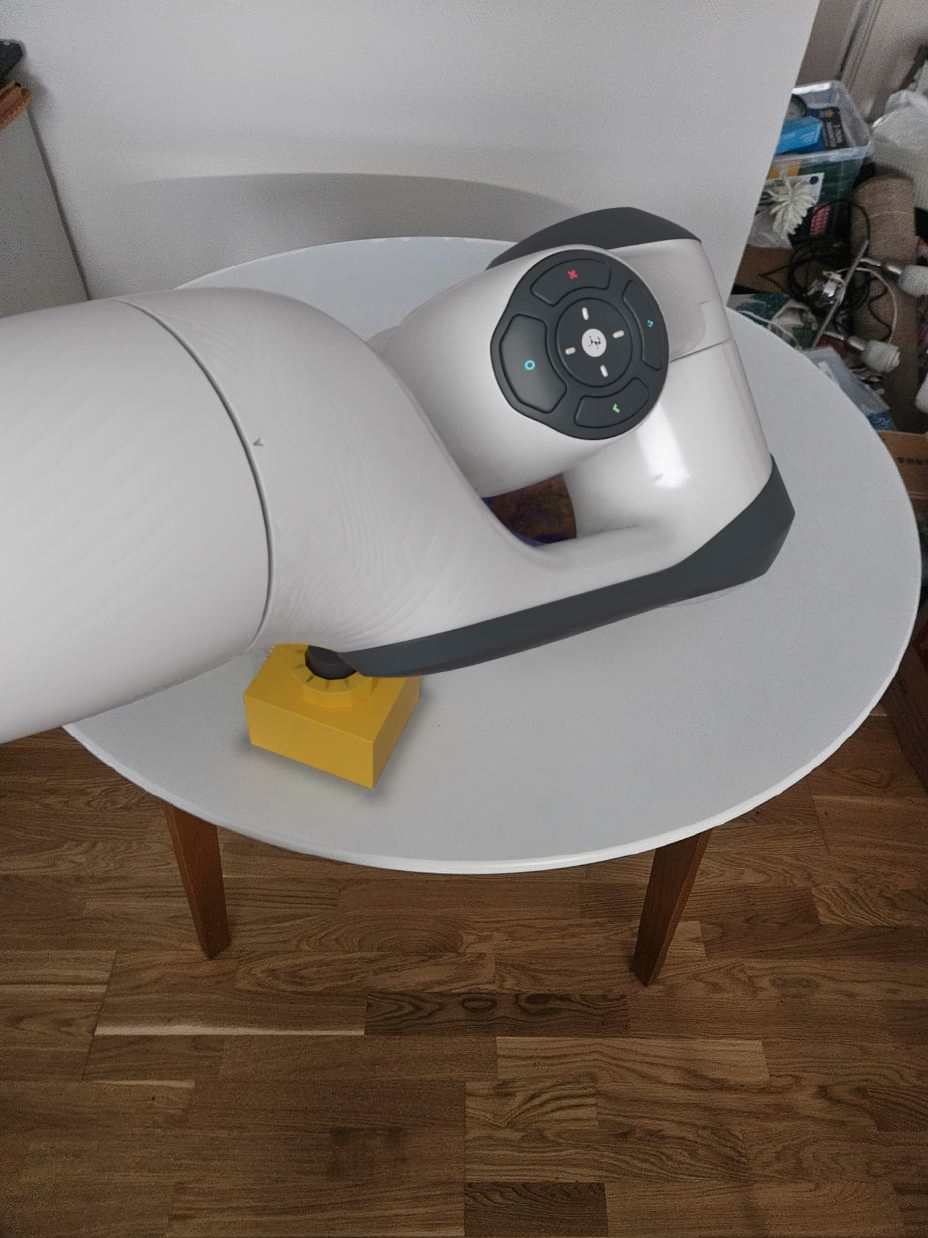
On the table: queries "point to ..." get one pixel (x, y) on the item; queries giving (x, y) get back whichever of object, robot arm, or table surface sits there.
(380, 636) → the robot arm
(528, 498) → the bowl
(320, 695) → the yellow push button box
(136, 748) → the table surface
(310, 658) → the black cylinder
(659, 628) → the table surface
